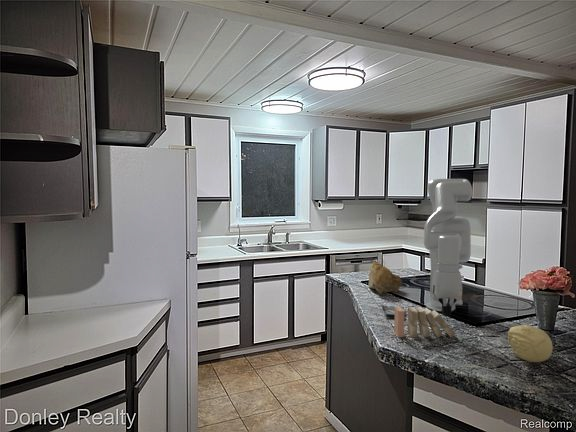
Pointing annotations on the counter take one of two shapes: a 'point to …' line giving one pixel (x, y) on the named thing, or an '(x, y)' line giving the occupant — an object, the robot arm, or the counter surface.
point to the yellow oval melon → (530, 343)
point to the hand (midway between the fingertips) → (446, 315)
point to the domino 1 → (399, 322)
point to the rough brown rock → (383, 279)
